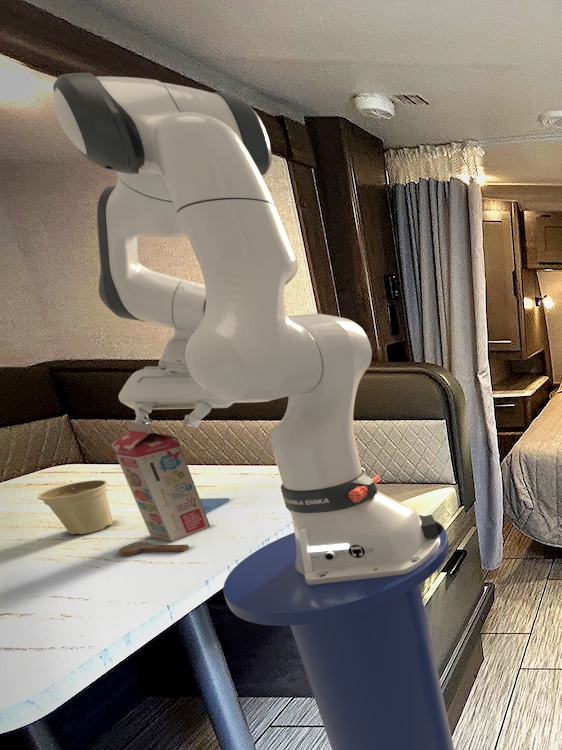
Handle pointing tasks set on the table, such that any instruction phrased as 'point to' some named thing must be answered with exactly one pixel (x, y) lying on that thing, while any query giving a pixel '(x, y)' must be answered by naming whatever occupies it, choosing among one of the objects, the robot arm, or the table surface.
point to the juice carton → (160, 482)
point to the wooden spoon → (149, 548)
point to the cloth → (212, 503)
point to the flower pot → (80, 506)
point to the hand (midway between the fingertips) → (165, 425)
